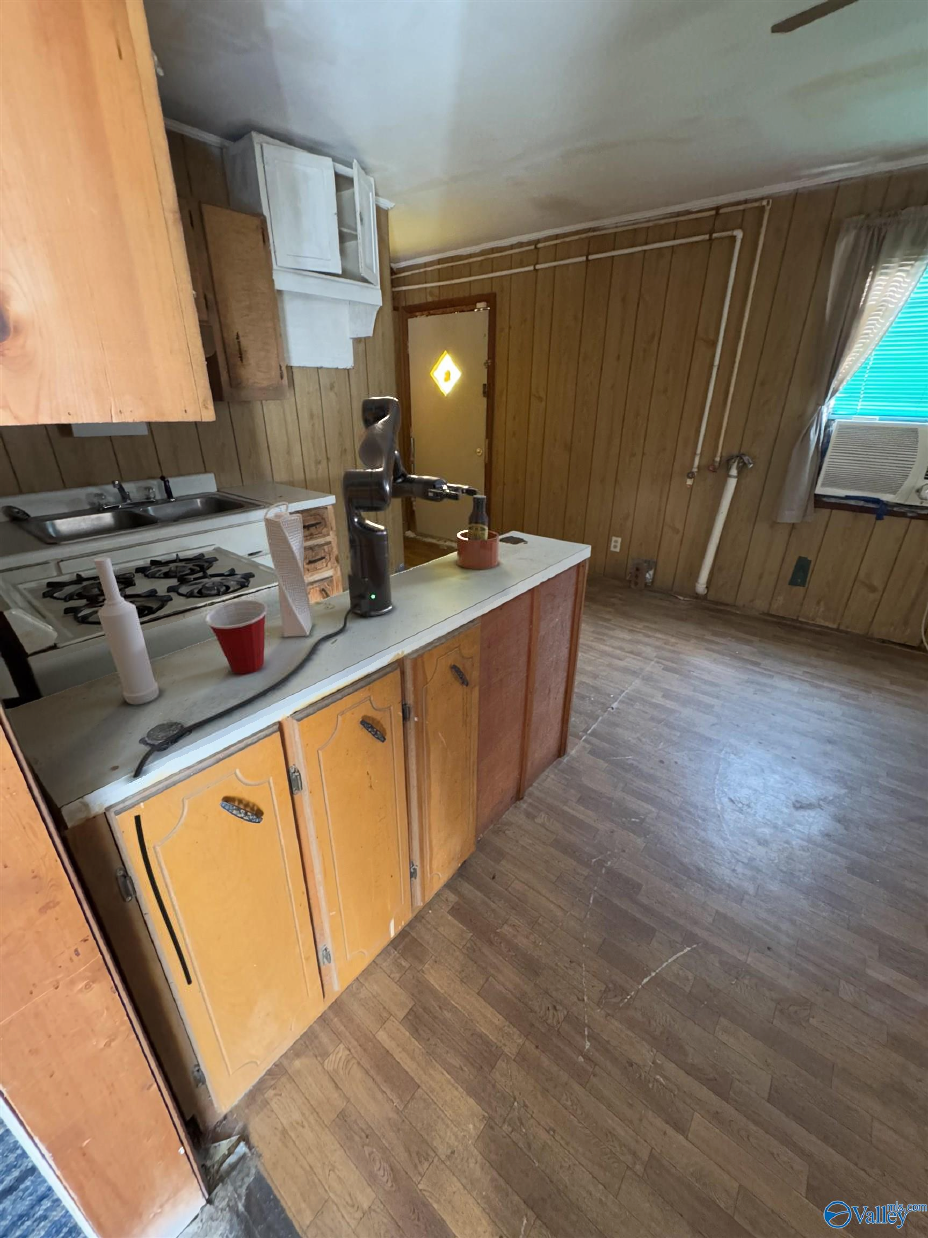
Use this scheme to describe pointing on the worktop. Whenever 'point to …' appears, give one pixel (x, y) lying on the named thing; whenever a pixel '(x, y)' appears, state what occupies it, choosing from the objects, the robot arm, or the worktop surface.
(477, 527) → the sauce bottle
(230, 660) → the plastic cup
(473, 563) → the crock
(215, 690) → the worktop surface
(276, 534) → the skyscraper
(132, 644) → the bottle
